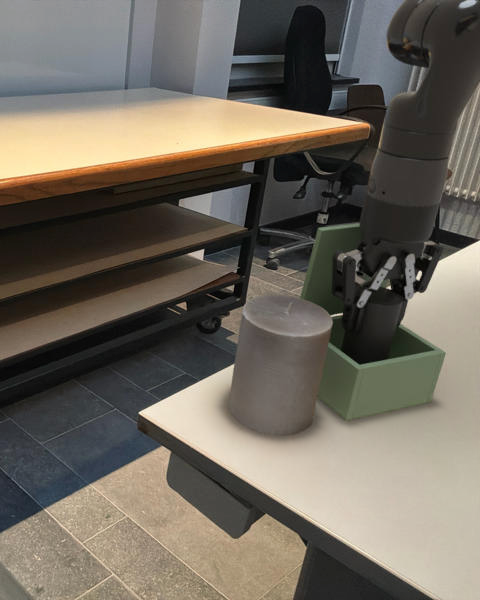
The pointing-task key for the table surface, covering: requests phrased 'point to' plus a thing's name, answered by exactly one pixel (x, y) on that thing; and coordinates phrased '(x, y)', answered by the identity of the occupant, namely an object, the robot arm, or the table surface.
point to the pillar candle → (279, 364)
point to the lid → (329, 264)
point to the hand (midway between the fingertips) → (370, 326)
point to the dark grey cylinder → (374, 328)
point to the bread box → (379, 375)
